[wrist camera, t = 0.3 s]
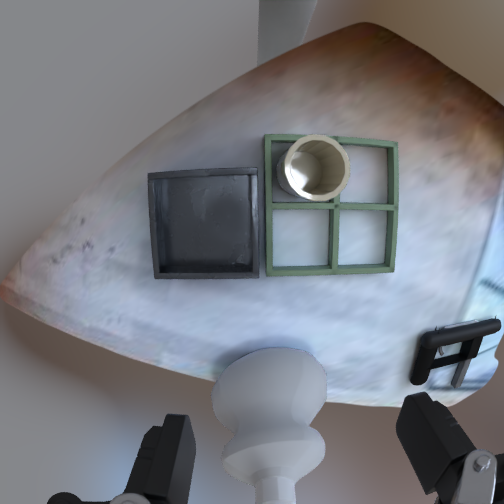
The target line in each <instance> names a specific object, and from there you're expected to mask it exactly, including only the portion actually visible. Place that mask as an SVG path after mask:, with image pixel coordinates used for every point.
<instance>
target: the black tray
mask: <svg viewBox="0 0 504 504" xmlns="http://www.w3.org/2000/svg"><path fill="white" fill-rule="evenodd" d="M257 173H258V170H257V167H253V168H219V169H198V170H182V171H168V172H156V173H148V199H149V218H150V233H151V246H152V258H153V268H154V278H155V279H243V278H259V230H258V175H257Z"/></svg>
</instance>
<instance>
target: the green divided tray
mask: <svg viewBox="0 0 504 504" xmlns="http://www.w3.org/2000/svg"><path fill="white" fill-rule="evenodd" d="M305 136H308V135H292V134H265V135H264V157H265V221H266V276H308V275H341V274H368V273H391V272H394V268H395V256H396V244H397V228H398V202H399V161H398V142H393V141H384V140H375V139H365V138H353V137H339V136H327V137H329V138H332V139H334V140H335V141H337V142H338V143H339V144H340V145H355V146H367V147H378V148H388V204H379V203H343V202H340V193H339V194H338V195H337V196H336V197H334V198H331V199H330V202H272V160H271V142H281V143H295V142H296V141H297V140H298V139H300V138H302V137H305ZM272 209H330V240H329V265H325V266H281V267H273V242H272ZM340 209H351V210H388V219H387V239H386V253H385V264H362V265H338V246H339V210H340Z"/></svg>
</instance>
